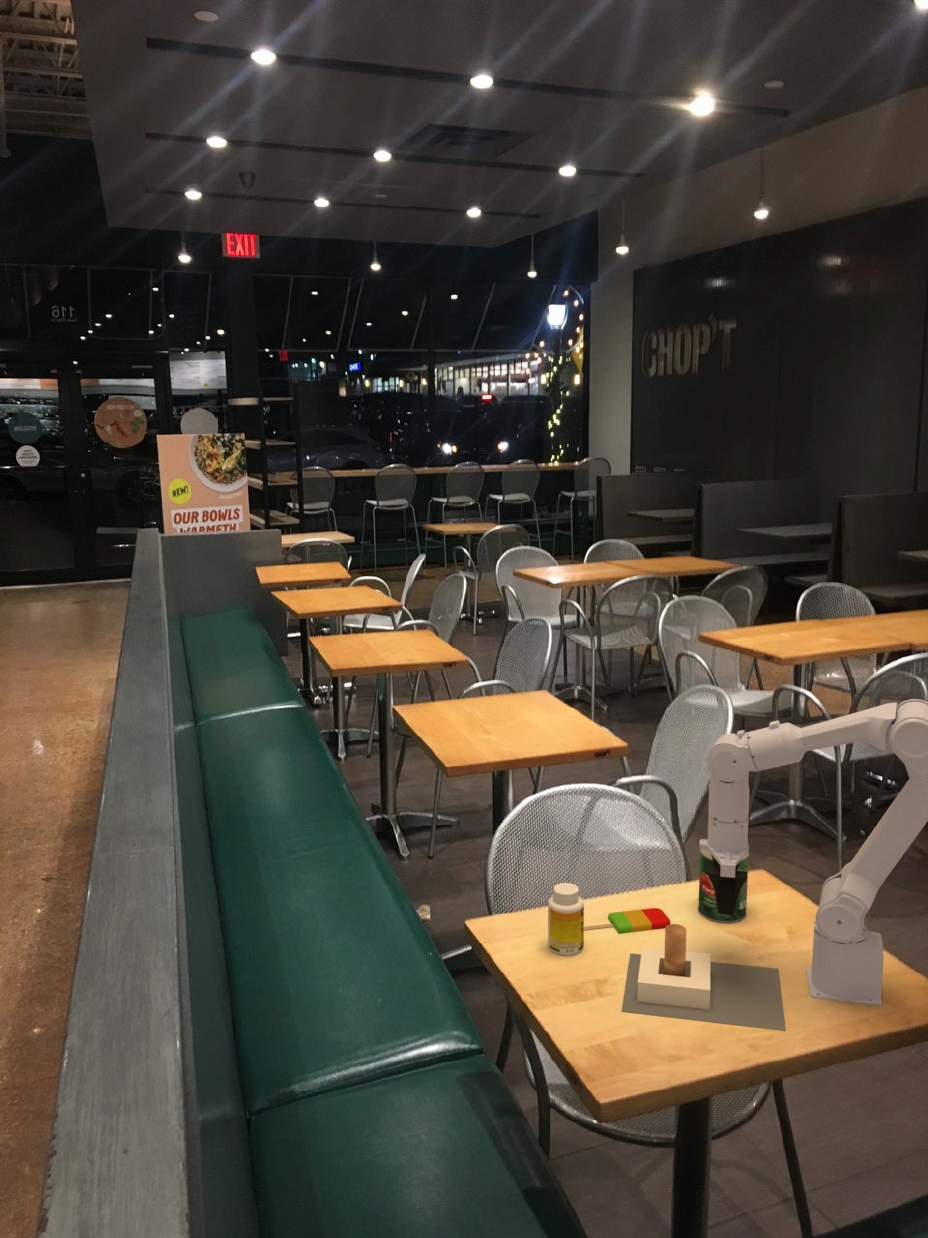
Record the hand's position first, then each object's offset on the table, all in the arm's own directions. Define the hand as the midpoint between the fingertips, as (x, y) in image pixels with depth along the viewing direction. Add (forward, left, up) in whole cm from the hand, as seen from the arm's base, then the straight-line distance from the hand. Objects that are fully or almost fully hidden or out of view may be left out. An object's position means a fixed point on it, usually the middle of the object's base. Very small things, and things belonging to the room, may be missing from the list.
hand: (725, 901), depth 151 cm
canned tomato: (0, -17, -11) cm, 20 cm away
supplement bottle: (+24, 0, -11) cm, 26 cm away
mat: (+3, +8, -10) cm, 13 cm away
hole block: (+7, +8, -10) cm, 15 cm away
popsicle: (+16, -9, -11) cm, 21 cm away
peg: (+7, +8, -10) cm, 15 cm away
